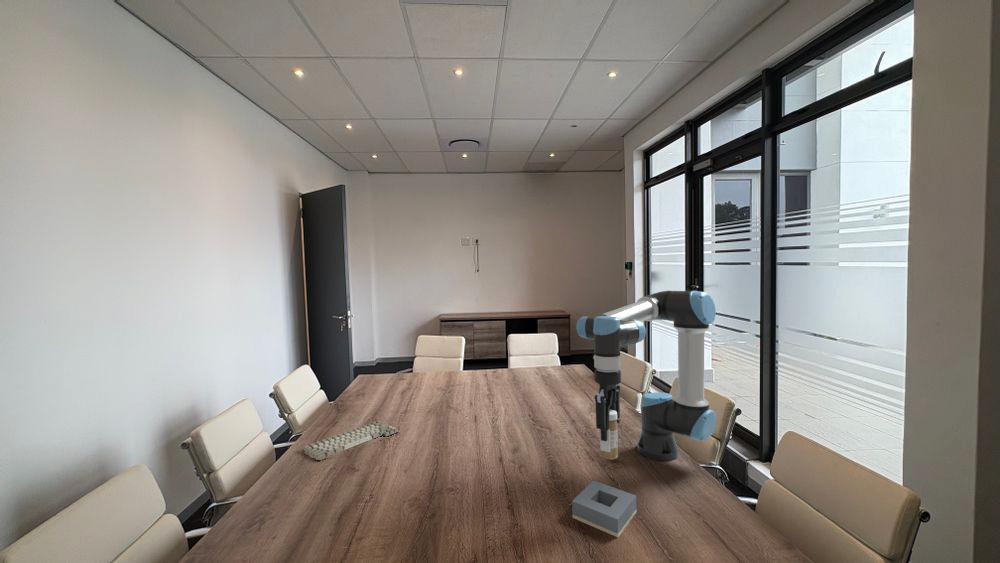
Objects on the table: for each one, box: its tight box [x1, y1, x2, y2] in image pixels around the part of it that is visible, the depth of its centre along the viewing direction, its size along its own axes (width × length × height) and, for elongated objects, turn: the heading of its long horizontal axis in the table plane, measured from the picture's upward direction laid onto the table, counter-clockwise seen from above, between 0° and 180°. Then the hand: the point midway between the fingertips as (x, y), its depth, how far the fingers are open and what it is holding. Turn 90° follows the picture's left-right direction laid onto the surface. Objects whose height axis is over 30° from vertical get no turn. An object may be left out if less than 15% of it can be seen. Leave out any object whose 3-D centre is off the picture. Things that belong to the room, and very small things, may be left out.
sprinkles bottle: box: [601, 409, 619, 460], centre depth 112 cm, size 5×5×14 cm
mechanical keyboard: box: [303, 420, 400, 461], centre depth 169 cm, size 38×19×3 cm, turn 140°
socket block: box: [571, 480, 637, 538], centre depth 113 cm, size 14×14×5 cm
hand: (608, 447), depth 112 cm, fingers closed on sprinkles bottle, 4 cm apart
